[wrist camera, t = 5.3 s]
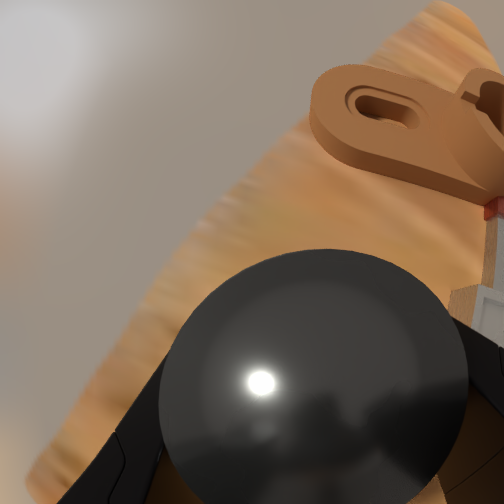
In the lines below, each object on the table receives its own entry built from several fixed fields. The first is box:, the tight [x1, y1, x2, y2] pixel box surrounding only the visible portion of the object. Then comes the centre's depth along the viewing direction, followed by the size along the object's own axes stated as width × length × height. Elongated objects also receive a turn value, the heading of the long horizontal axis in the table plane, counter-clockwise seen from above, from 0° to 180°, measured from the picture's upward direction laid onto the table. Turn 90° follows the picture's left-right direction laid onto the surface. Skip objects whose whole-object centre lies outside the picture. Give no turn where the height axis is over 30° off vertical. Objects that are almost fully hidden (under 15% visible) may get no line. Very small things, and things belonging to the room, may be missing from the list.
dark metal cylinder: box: [159, 249, 469, 504], centre depth 9 cm, size 4×4×11 cm
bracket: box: [309, 65, 504, 206], centre depth 17 cm, size 18×8×7 cm, turn 76°
